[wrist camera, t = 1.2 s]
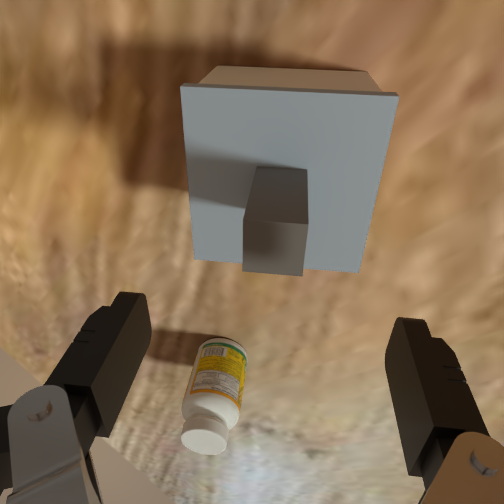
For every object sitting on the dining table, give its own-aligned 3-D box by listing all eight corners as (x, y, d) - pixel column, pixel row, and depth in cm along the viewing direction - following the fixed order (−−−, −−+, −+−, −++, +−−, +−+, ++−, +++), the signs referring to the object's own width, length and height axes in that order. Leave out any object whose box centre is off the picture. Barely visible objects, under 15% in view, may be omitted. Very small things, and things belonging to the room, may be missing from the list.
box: (217, 65, 24) (190, 89, 19) (367, 71, 24) (387, 98, 18) (221, 198, 30) (201, 248, 24) (343, 206, 29) (353, 260, 23)
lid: (184, 82, 18) (138, 119, 13) (395, 92, 18) (433, 135, 13) (197, 252, 24) (168, 323, 19) (357, 264, 23) (372, 343, 18)
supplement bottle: (217, 328, 38) (194, 416, 30) (258, 354, 40) (247, 444, 32) (188, 353, 41) (161, 440, 33) (228, 377, 42) (211, 465, 35)
